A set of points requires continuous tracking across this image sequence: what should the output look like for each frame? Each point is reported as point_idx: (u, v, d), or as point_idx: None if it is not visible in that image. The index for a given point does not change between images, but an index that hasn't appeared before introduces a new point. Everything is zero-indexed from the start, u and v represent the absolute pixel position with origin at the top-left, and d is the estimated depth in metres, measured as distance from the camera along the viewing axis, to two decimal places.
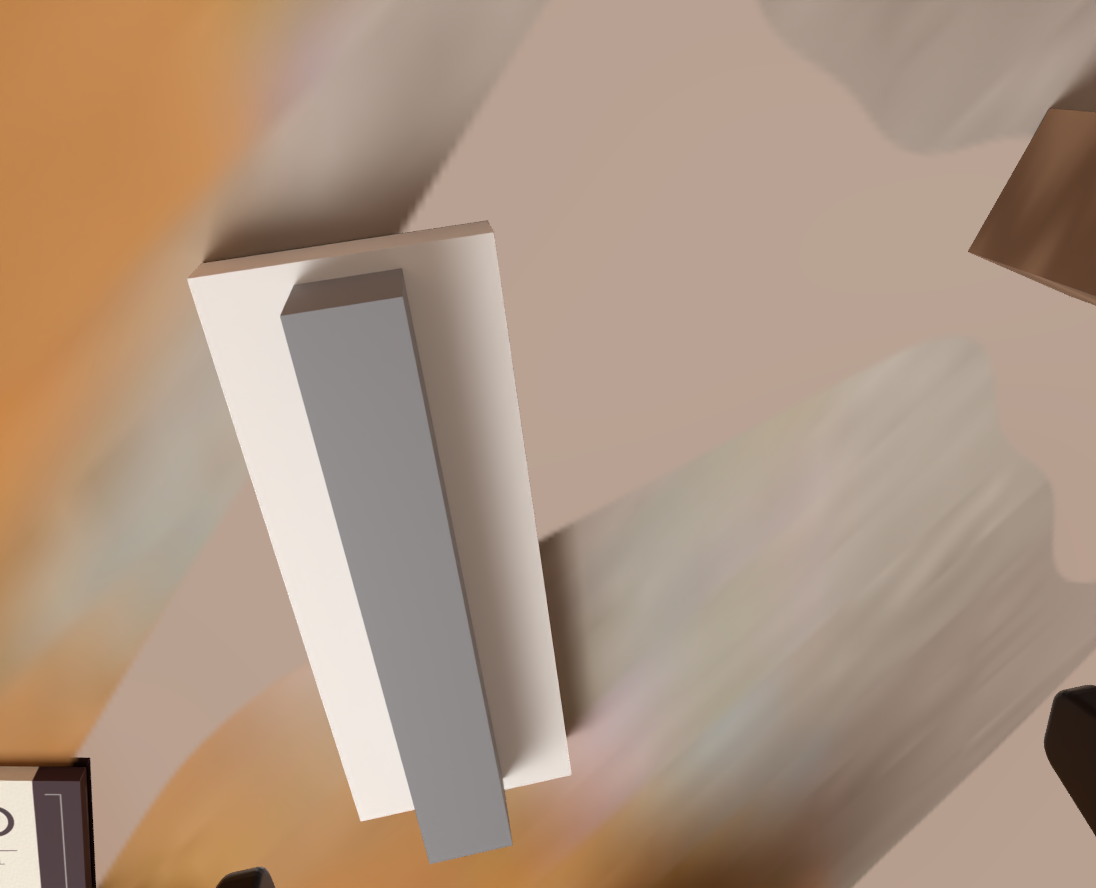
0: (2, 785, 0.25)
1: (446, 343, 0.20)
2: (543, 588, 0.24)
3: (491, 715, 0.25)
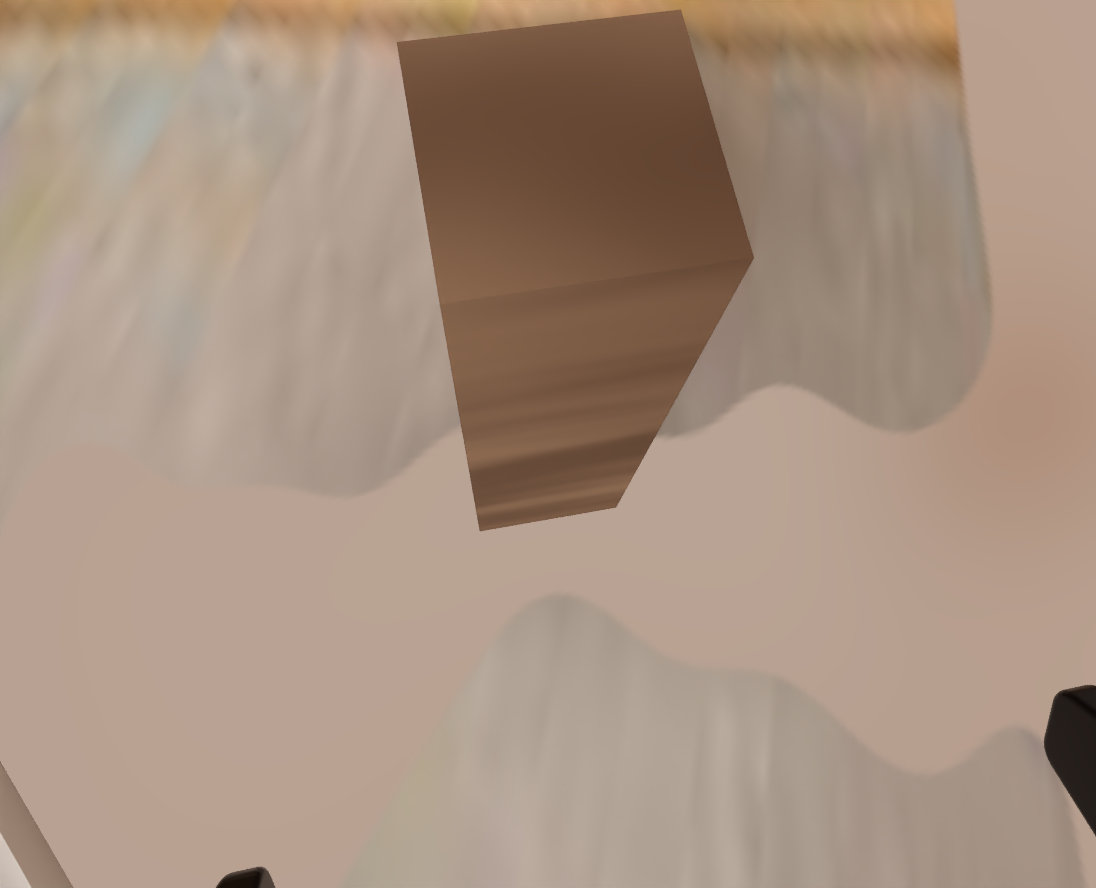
0: None
1: None
2: None
3: None
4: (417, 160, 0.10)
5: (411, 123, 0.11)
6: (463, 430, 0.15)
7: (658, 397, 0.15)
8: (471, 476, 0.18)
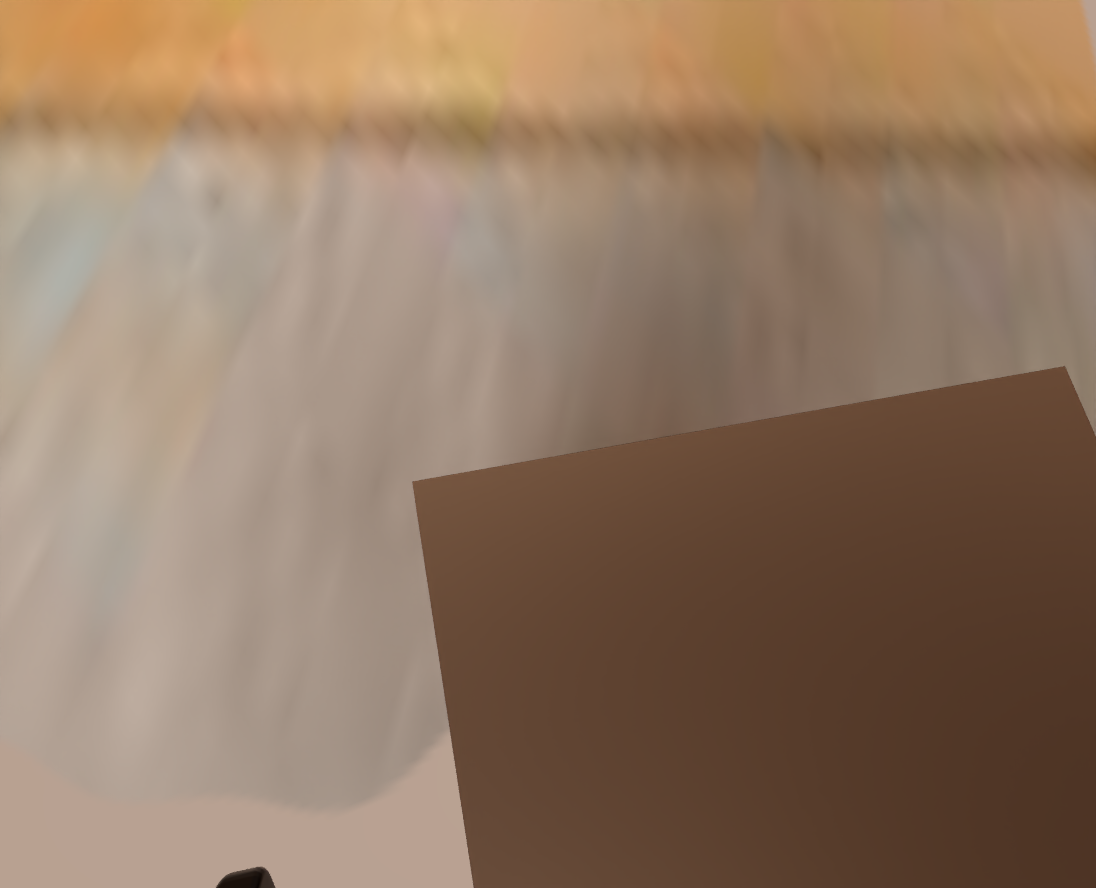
0: None
1: None
2: None
3: None
4: (472, 850, 0.04)
5: (453, 723, 0.04)
6: None
7: None
8: None
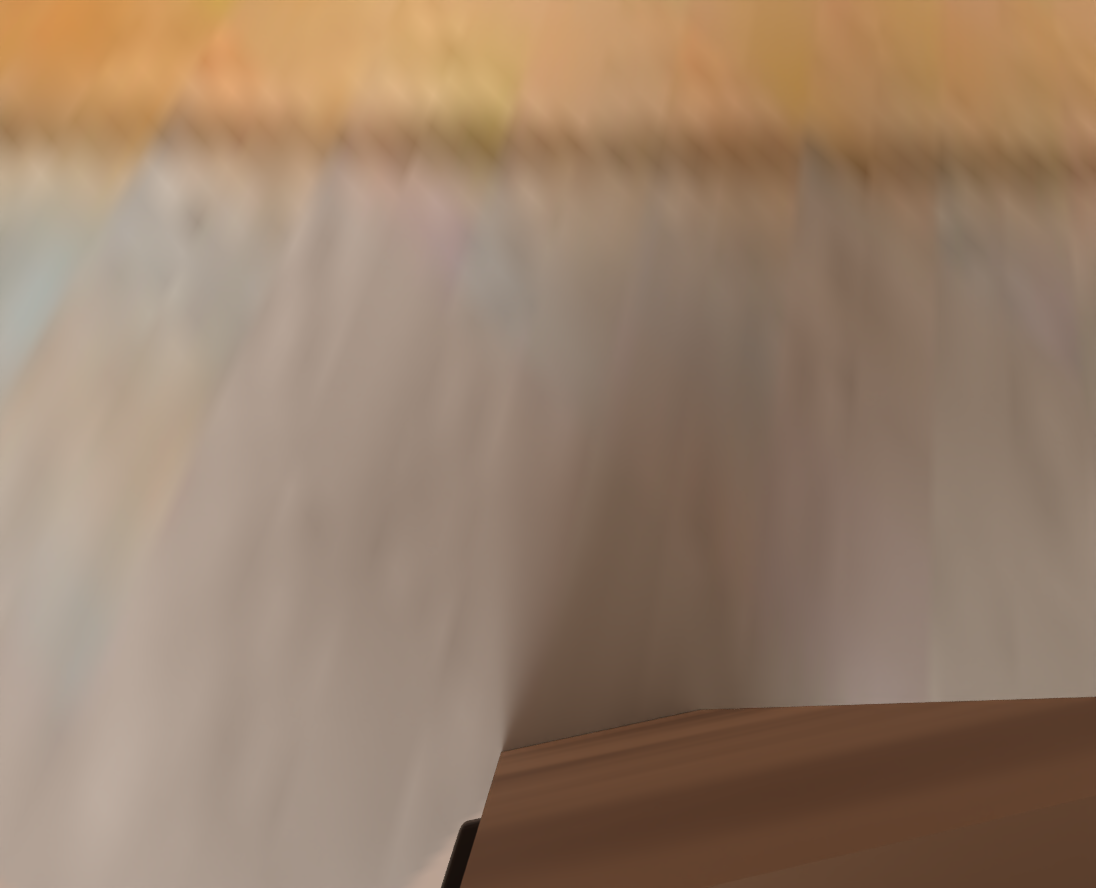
0: None
1: None
2: None
3: None
4: None
5: None
6: None
7: None
8: None
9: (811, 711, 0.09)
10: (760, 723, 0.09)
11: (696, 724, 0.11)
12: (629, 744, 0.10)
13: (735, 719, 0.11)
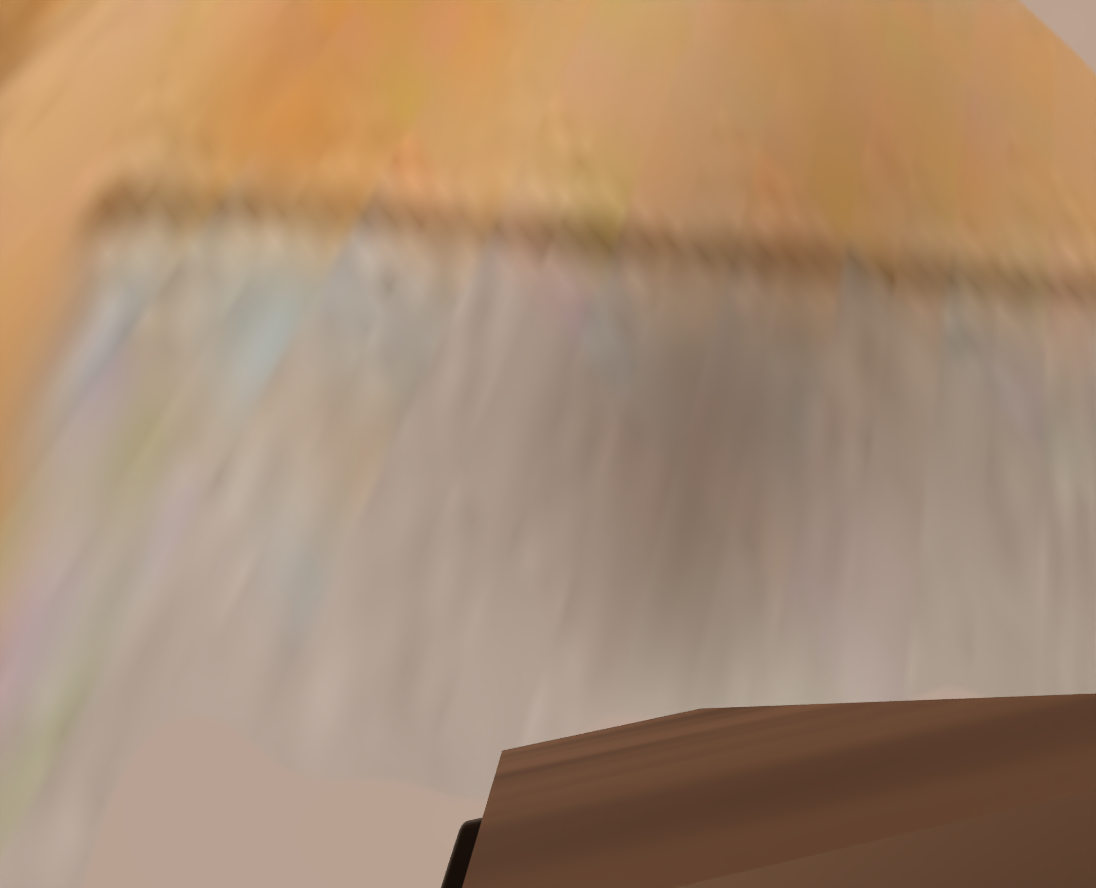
0: None
1: None
2: None
3: None
4: None
5: None
6: None
7: None
8: None
9: (812, 709, 0.09)
10: (761, 721, 0.09)
11: (697, 722, 0.11)
12: (630, 742, 0.10)
13: (736, 717, 0.11)
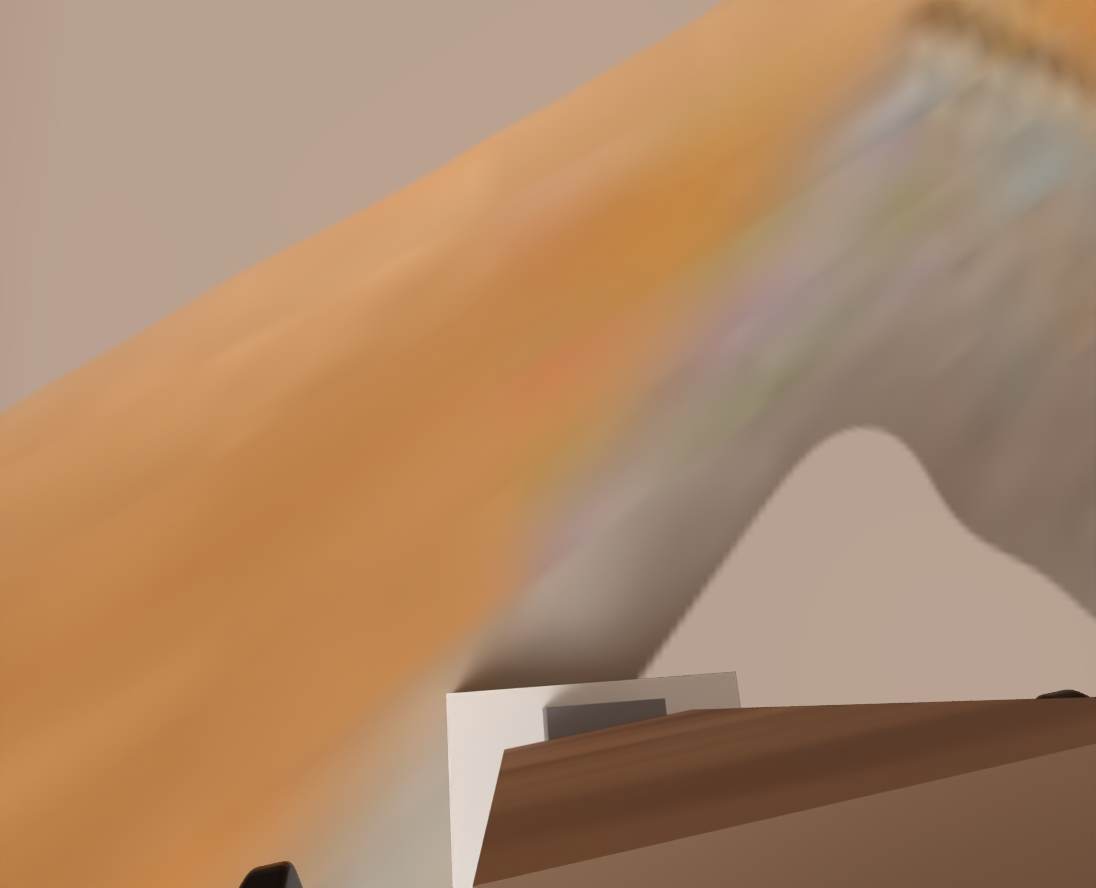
0: None
1: None
2: None
3: None
4: None
5: None
6: None
7: None
8: None
9: (788, 711, 0.10)
10: (741, 722, 0.10)
11: (685, 723, 0.12)
12: (623, 741, 0.11)
13: (721, 718, 0.12)
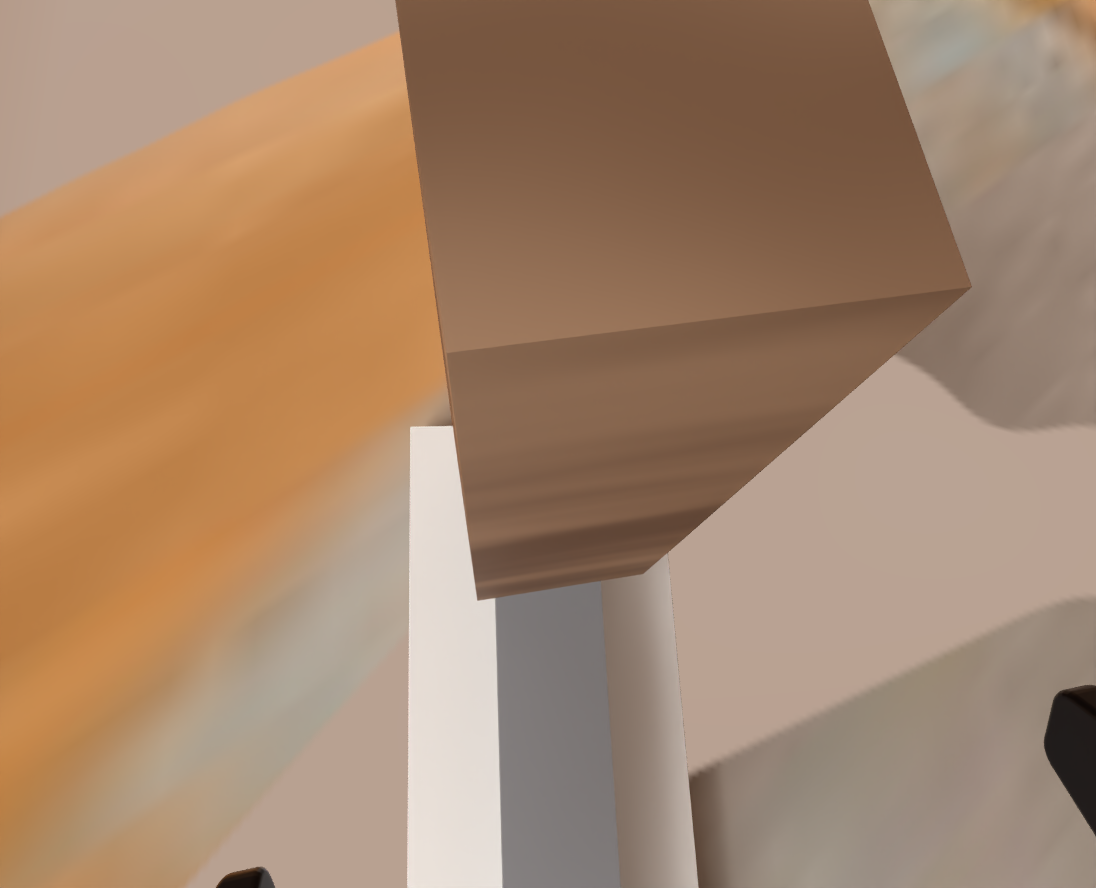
0: None
1: None
2: (689, 811, 0.20)
3: None
4: (414, 110, 0.06)
5: (405, 51, 0.07)
6: (468, 511, 0.10)
7: (738, 470, 0.11)
8: (473, 555, 0.13)
9: None
10: None
11: None
12: None
13: None
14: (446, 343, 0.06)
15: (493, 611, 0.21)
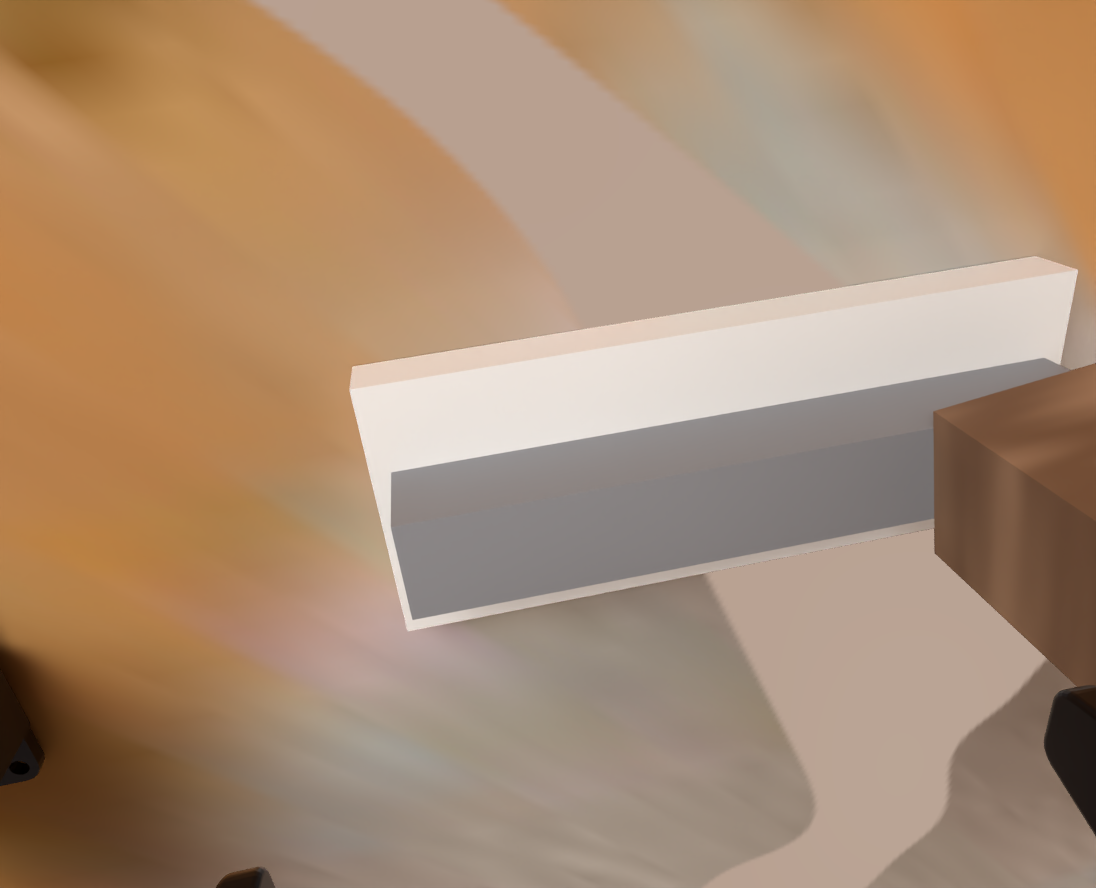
0: None
1: None
2: (687, 575, 0.22)
3: None
4: None
5: None
6: None
7: None
8: None
9: None
10: None
11: None
12: None
13: None
14: None
15: (874, 385, 0.21)
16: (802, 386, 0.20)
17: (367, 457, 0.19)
